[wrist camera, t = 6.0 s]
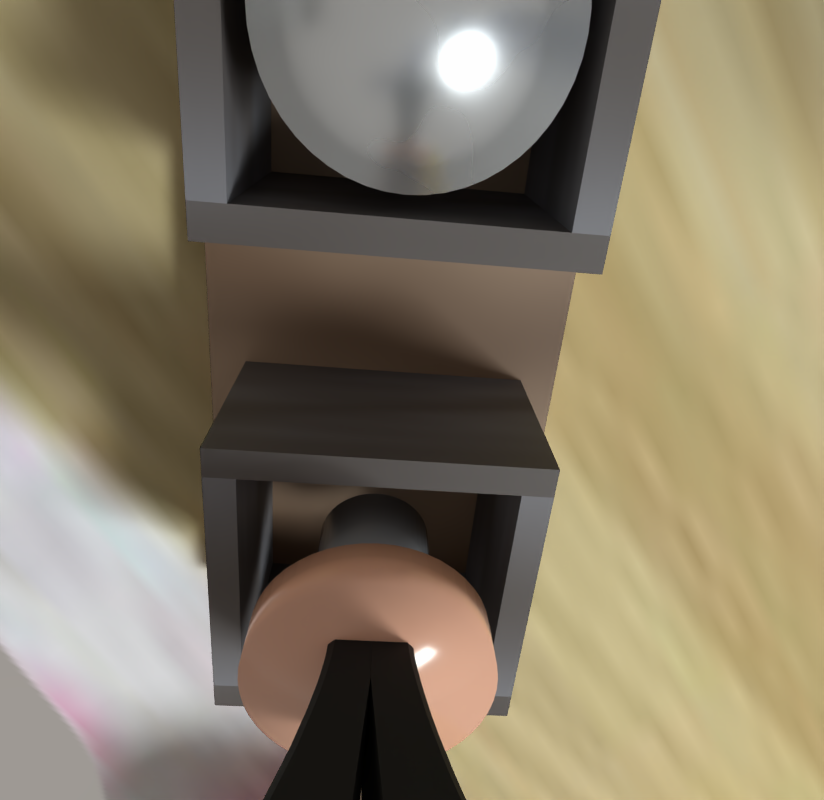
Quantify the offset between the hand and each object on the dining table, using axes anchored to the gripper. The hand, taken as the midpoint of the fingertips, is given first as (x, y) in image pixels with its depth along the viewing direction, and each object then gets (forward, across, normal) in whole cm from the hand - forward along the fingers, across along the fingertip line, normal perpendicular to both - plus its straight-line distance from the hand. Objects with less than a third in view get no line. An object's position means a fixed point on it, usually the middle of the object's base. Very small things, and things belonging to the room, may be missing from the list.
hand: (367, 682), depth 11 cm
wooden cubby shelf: (+7, 0, -5) cm, 9 cm away
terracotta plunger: (+4, 0, 0) cm, 4 cm away
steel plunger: (+6, 0, -10) cm, 11 cm away
